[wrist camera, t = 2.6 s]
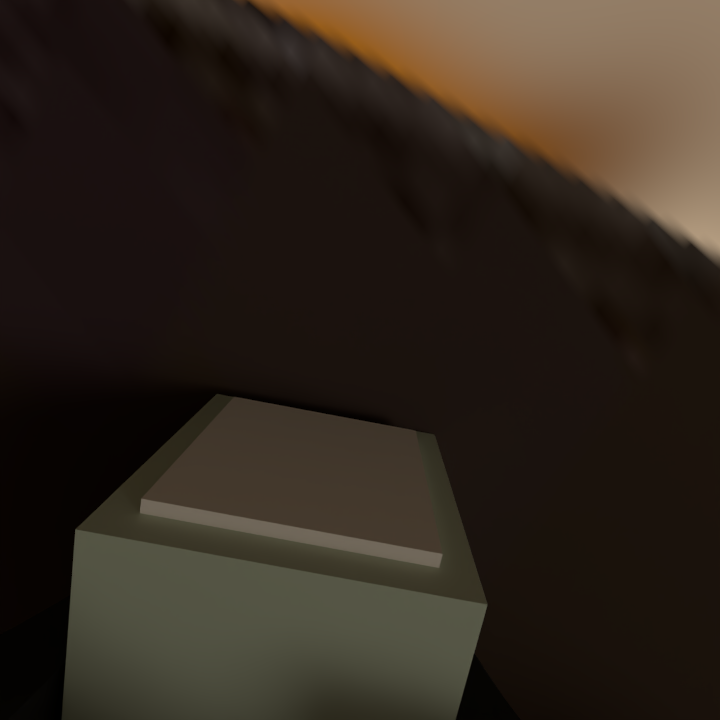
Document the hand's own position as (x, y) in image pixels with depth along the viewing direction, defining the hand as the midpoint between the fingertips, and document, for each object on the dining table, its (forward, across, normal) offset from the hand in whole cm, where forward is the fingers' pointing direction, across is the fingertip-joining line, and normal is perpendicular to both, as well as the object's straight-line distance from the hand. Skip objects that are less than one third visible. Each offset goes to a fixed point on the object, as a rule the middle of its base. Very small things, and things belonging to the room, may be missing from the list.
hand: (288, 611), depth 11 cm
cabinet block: (+1, 0, 0) cm, 1 cm away
